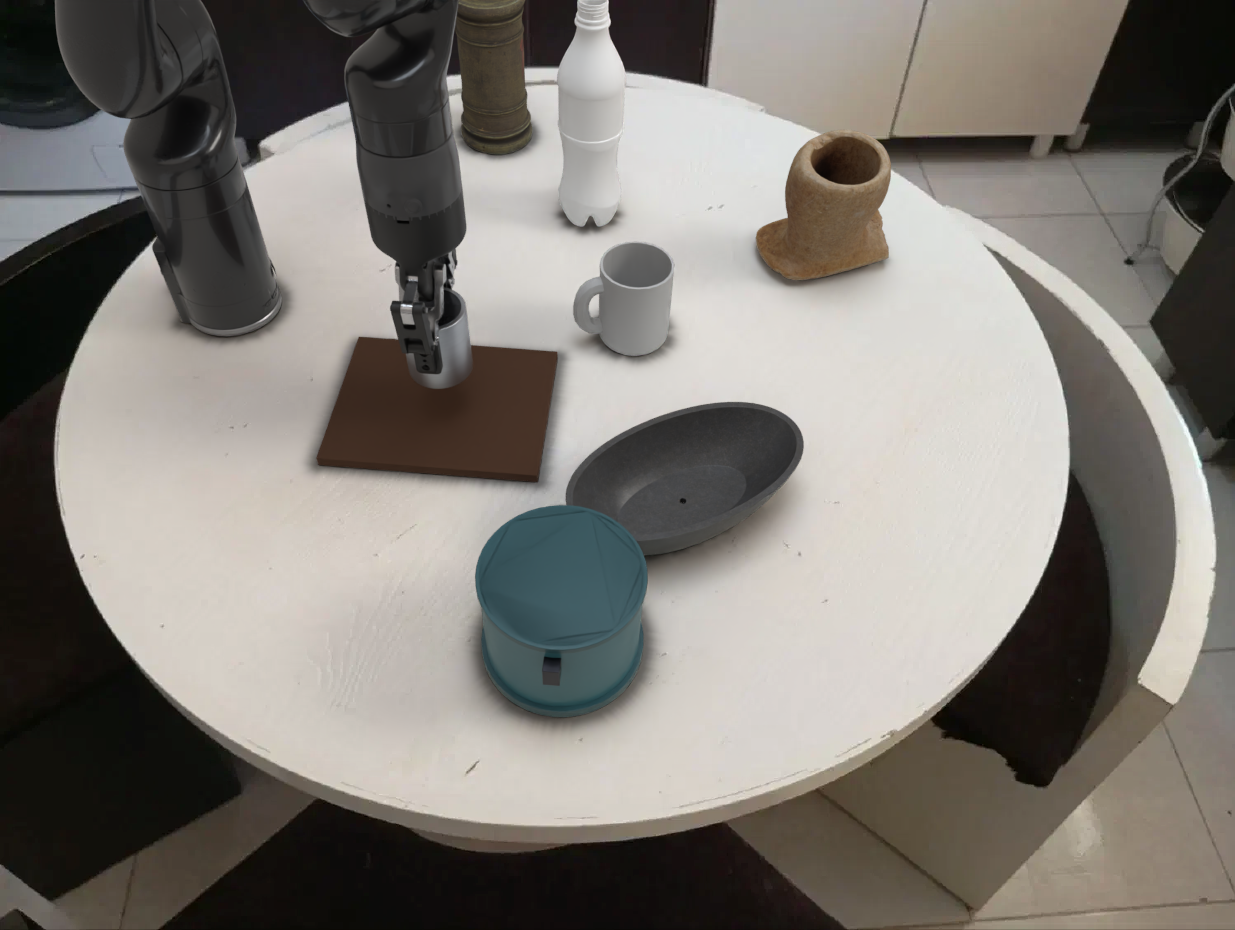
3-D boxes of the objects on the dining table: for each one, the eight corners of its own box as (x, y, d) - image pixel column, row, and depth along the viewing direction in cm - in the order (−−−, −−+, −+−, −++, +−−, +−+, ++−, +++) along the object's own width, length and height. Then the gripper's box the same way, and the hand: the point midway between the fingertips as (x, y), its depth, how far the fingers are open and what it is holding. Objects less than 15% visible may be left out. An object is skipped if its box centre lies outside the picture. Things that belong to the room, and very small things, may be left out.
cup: (677, 350, 101) (685, 282, 94) (582, 368, 99) (583, 300, 92) (655, 304, 105) (661, 236, 98) (564, 321, 103) (563, 252, 96)
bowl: (822, 514, 88) (836, 470, 83) (604, 614, 81) (606, 571, 76) (746, 423, 95) (756, 378, 90) (539, 508, 87) (537, 463, 83)
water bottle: (632, 210, 116) (644, -5, 96) (598, 241, 112) (604, 24, 92) (581, 188, 118) (582, -25, 99) (546, 219, 114) (540, 2, 95)
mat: (318, 465, 90) (315, 458, 89) (360, 343, 100) (358, 336, 99) (538, 482, 89) (537, 475, 88) (557, 358, 99) (557, 351, 99)
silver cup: (402, 387, 89) (391, 328, 83) (415, 342, 92) (405, 283, 87) (467, 391, 88) (459, 333, 83) (477, 346, 92) (471, 287, 87)
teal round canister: (467, 718, 75) (455, 653, 67) (496, 562, 84) (488, 489, 76) (637, 732, 74) (645, 669, 67) (647, 574, 83) (655, 502, 76)
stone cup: (787, 306, 106) (813, 186, 94) (742, 239, 113) (761, 120, 101) (911, 279, 109) (951, 160, 98) (860, 216, 116) (892, 98, 105)
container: (505, 163, 121) (496, 18, 107) (446, 139, 124) (430, -5, 110) (547, 130, 126) (543, -14, 112) (490, 107, 129) (479, -35, 115)
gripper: (383, 129, 80) (411, 290, 93) (339, 239, 71) (377, 401, 84) (476, 135, 80) (490, 295, 93) (444, 246, 71) (465, 407, 84)
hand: (436, 345), depth 88 cm, fingers closed on silver cup, 6 cm apart
